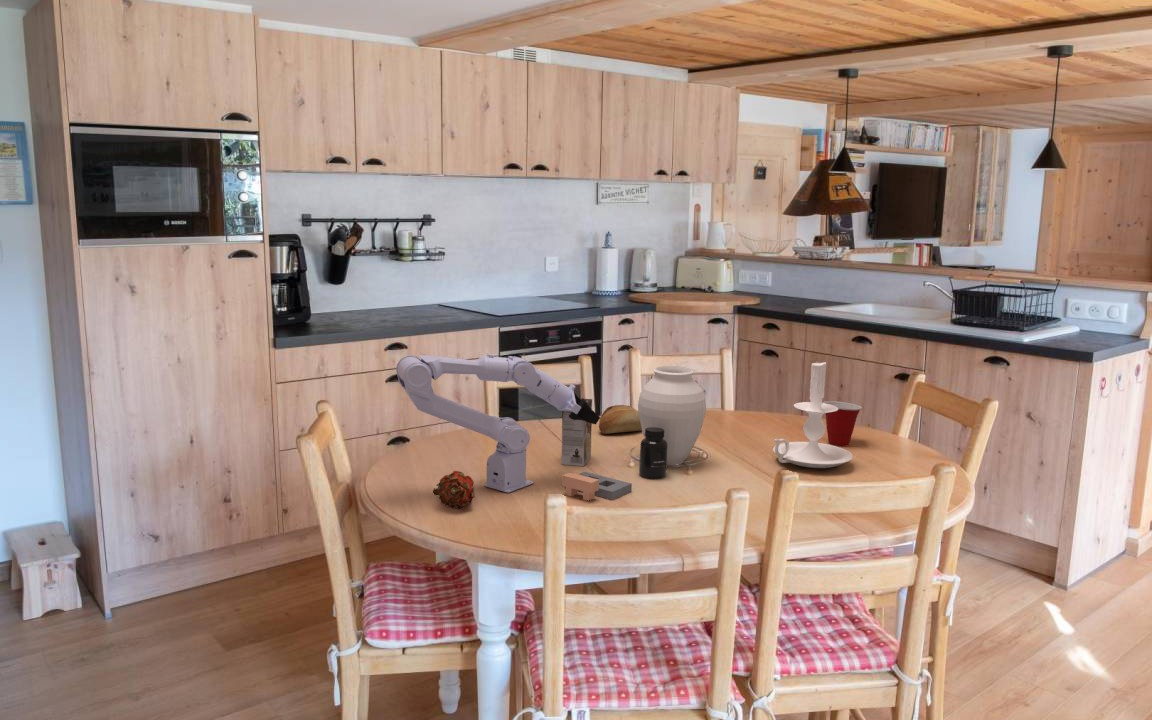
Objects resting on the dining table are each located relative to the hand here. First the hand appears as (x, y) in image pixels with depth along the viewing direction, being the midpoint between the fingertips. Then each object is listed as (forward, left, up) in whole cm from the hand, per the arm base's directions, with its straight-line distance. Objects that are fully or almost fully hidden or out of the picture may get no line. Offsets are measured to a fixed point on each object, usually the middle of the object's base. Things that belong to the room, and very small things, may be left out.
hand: (592, 415), depth 219 cm
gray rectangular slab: (-7, -7, -16) cm, 19 cm away
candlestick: (+46, -37, -16) cm, 61 cm away
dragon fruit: (-37, +11, -16) cm, 42 cm away
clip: (-14, -7, -16) cm, 22 cm away
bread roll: (+40, +19, -16) cm, 47 cm away
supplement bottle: (+11, -11, -16) cm, 22 cm away
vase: (+24, -8, -16) cm, 30 cm away
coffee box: (+8, +11, -16) cm, 21 cm away
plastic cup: (+72, -36, -16) cm, 82 cm away
